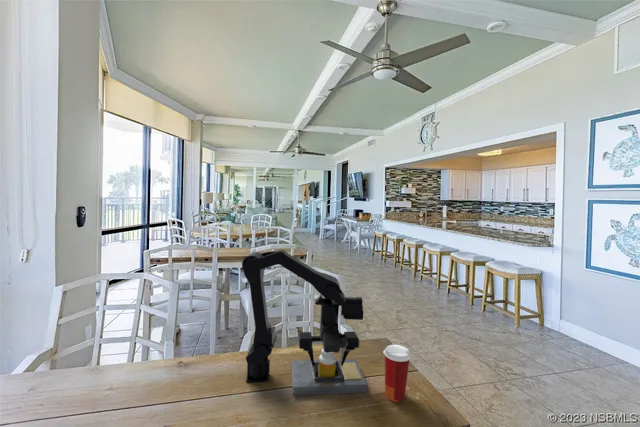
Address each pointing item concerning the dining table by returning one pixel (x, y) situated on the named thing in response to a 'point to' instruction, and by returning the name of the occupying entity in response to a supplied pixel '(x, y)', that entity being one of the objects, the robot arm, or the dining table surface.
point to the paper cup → (396, 371)
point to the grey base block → (327, 378)
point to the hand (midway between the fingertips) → (327, 365)
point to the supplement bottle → (327, 364)
